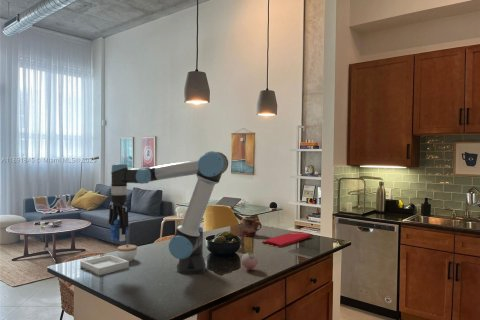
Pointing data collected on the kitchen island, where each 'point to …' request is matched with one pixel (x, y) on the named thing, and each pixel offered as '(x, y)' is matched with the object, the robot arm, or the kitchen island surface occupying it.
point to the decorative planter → (249, 226)
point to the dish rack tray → (104, 264)
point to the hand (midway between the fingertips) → (118, 239)
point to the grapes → (116, 230)
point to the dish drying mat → (287, 239)
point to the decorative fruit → (249, 260)
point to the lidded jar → (127, 252)
